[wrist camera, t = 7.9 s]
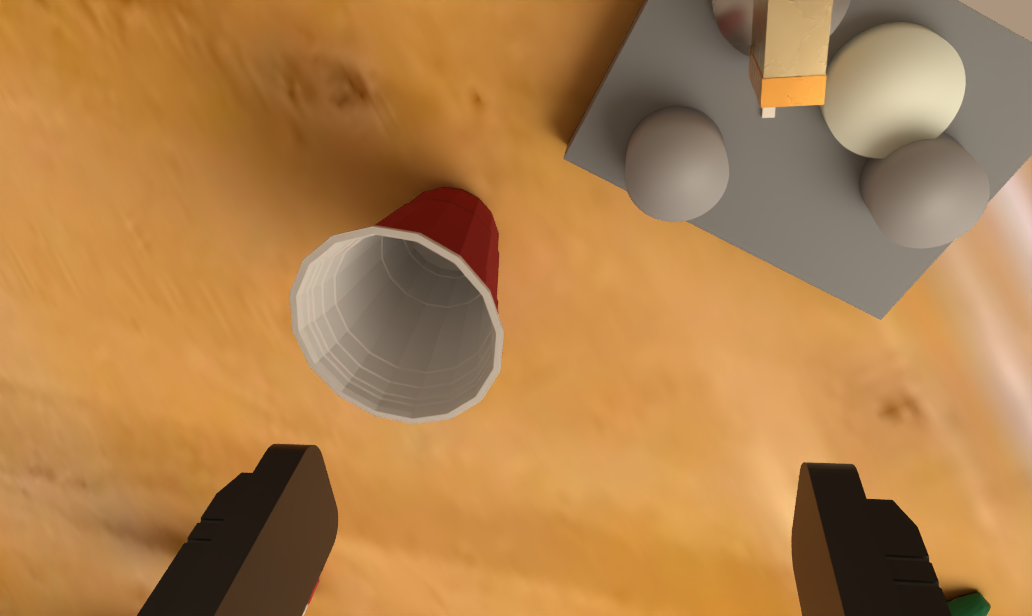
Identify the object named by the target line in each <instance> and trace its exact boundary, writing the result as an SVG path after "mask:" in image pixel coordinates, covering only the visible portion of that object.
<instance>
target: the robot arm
mask: <svg viewBox="0 0 1032 616" xmlns="http://www.w3.org/2000/svg"><path fill="white" fill-rule="evenodd" d="M337 528H338V511H337V506H336V502H335V499H334V495H333V492H332V488H331V485H330V481H329V478H328V474H327V471H326V467H325V464H324V460H323V457H322V453H321V451H320V449H319V448H318V447H317V446H316V445H294V444H273V445H271V446H270V447H269V448H268V449H267V451H266V452H265V454H264V455H263V457H262V459H261V460H260V462H259V463H258V465H257V467H256V468H255V470H254V472H253V473H241V474H240V475H238V476H237V477H236V478H235V479H234V480H232V481H231V482H230V483H229V484H228V485H226V486H225V487H224V488H223V489H222V490H220V491H219V492H218V493H217V494H216V496H215V497H214V499H213V500H212V502H211V503H210V505H209V506H208V508H207V509H206V511H205V512H204V514H203V515H202V517H201V522H200V523H197V525H196V526H195V528H194V529H193V531H192V532H191V534H190V535H189V537H188V542H187V543H184V544H183V546H182V547H181V549H180V551H179V552H178V554H177V555H176V557H175V558H174V560H173V561H172V563H171V564H170V566H169V567H168V569H167V570H166V572H165V573H164V575H163V577H162V578H161V580H160V581H159V583H158V584H157V586H156V587H155V589H154V590H153V592H152V593H151V595H150V596H149V598H148V599H147V601H146V603H145V604H144V606H143V607H142V609H141V610H140V612H139V613H138V615H137V616H302V615H303V613H304V610H305V608H306V606H307V604H308V601H309V599H310V597H311V594H312V592H313V590H314V588H315V585H316V583H317V581H318V579H319V576H320V574H321V572H322V570H323V567H324V565H325V563H326V561H327V558H328V556H329V554H330V552H331V549H332V547H333V545H334V542H335V539H336V534H337ZM792 562H793V570H794V575H795V580H796V585H797V591H798V596H799V601H800V606H801V611H802V616H952V615H951V612H950V610H949V607H948V604H947V602H946V599H945V597H944V594H943V592H942V589H941V588H939V581H938V579H937V576H936V573H935V571H934V568H933V566H932V563H930V562H929V555H928V553H927V550H926V548H925V545H924V542H923V540H922V537H921V535H920V532H919V530H918V527H917V526H916V525H915V524H914V523H913V521H912V520H911V519H910V518H909V517H908V516H907V515H906V514H905V513H904V512H903V511H902V510H901V509H900V507H899V506H898V505H897V504H896V503H895V502H894V501H893V500H881V499H866V496H865V493H864V490H863V487H862V484H861V480H860V477H859V474H858V472H857V469H856V467H855V466H854V465H853V464H835V463H802V465H801V469H800V475H799V482H798V490H797V497H796V505H795V512H794V520H793V527H792Z"/></svg>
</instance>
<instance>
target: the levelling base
mask: <svg viewBox="0 0 1032 616" xmlns="http://www.w3.org/2000/svg"><path fill="white" fill-rule="evenodd" d="M748 72H749V56H747V55H744V54H743V53H741V52H739V51H738V50H736V49H735V48H734V47H733V46H732V45H730V43H729V42H728V41H727V40H726V39H725V38H724V36H723V35H722V33H721V32H720V29H719V27H718V25H717V23H716V19H715V16H714V13H713V9H712V2H711V0H645V1H644V3H643V4H642V6H641V8H640V10H639V12H638V14H637V16H636V18H635V19H634V21H633V23H632V25H631V27H630V29H629V31H628V33H627V34H626V36H625V38H624V40H623V42H622V44H621V46H620V48H619V49H618V51H617V53H616V55H615V57H614V59H613V61H612V63H611V64H610V66H609V68H608V70H607V72H606V74H605V76H604V78H603V80H602V81H601V83H600V85H599V87H598V89H597V91H596V93H595V95H594V96H593V98H592V100H591V102H590V104H589V106H588V108H587V110H586V111H585V113H584V115H583V117H582V119H581V121H580V123H579V125H578V126H577V128H576V130H575V132H574V134H573V136H572V138H571V140H570V141H569V143H568V145H567V148H566V152H565V155H564V159H565V160H567V161H569V162H571V163H573V164H575V165H577V166H579V167H581V168H583V169H585V170H587V171H589V172H591V173H593V174H595V175H597V176H599V177H600V178H602V179H604V180H606V181H608V182H610V183H612V184H614V185H616V186H618V187H620V188H622V189H624V190H626V191H627V192H628V194H629V196H630V198H631V200H632V201H633V202H634V204H635V205H636V206H637V207H638V208H639V209H640V210H641V211H643V212H644V213H645V214H647V215H649V216H650V217H653V218H655V219H658V220H662V221H667V222H682V221H687V222H689V223H691V224H693V225H695V226H697V227H699V228H701V229H703V230H705V231H707V232H709V233H711V234H713V235H715V236H717V237H719V238H721V239H722V240H724V241H726V242H728V243H730V244H732V245H734V246H736V247H738V248H740V249H742V250H744V251H746V252H748V253H750V254H752V255H754V256H756V257H758V258H760V259H762V260H764V261H766V262H768V263H770V264H772V265H774V266H776V267H778V268H780V269H782V270H784V271H785V272H787V273H789V274H791V275H793V276H795V277H797V278H799V279H801V280H803V281H805V282H807V283H809V284H811V285H813V286H815V287H817V288H819V289H821V290H823V291H825V292H827V293H829V294H831V295H833V296H835V297H837V298H839V299H841V300H843V301H845V302H846V303H848V304H850V305H852V306H854V307H856V308H858V309H860V310H862V311H864V312H866V313H868V314H870V315H872V316H874V317H876V318H878V319H880V320H881V319H882V318H883V317H884V316H885V315H886V314H887V313H888V312H889V310H890V309H891V308H892V307H893V306H894V305H895V304H896V303H897V302H898V301H899V300H900V298H901V297H902V296H903V295H904V294H905V293H906V292H907V291H908V290H909V289H910V288H911V286H912V285H913V284H914V283H915V282H916V281H917V280H918V279H919V278H920V277H921V275H922V274H923V273H924V272H925V271H926V270H927V269H928V268H929V267H930V266H931V265H932V263H933V262H934V261H935V260H936V259H937V258H938V257H939V256H940V255H941V254H942V253H943V251H944V250H945V249H946V248H947V247H948V246H949V245H950V244H951V243H952V242H953V241H954V240H955V239H957V238H959V237H961V236H962V235H964V234H965V233H966V232H968V231H969V230H970V229H971V228H972V227H973V226H974V225H975V224H976V223H977V222H978V220H979V219H980V218H981V216H982V215H983V213H984V211H985V209H986V207H987V204H988V202H989V201H990V200H991V199H992V198H993V197H994V196H995V195H996V193H997V192H998V191H999V190H1000V189H1001V188H1002V187H1003V186H1004V185H1005V184H1006V183H1007V181H1008V180H1009V179H1010V178H1011V177H1012V176H1013V175H1014V174H1015V173H1016V172H1017V171H1018V169H1019V168H1020V167H1021V166H1022V165H1023V164H1024V163H1025V162H1026V161H1027V160H1028V158H1029V157H1030V156H1031V155H1032V42H1030V41H1028V40H1027V39H1024V38H1023V37H1021V36H1019V35H1018V34H1016V33H1014V32H1012V31H1011V30H1009V29H1007V28H1005V27H1004V26H1002V25H1000V24H998V23H996V22H995V21H993V20H991V19H989V18H988V17H986V16H984V15H982V14H981V13H979V12H977V11H975V10H973V9H972V8H970V7H968V6H966V5H965V4H963V3H961V2H959V1H958V0H851V1H850V4H849V7H848V9H847V11H846V14H845V16H844V17H843V19H842V21H841V22H840V24H839V25H838V27H837V28H836V29H835V31H834V32H833V33H832V34H831V35H830V36H829V45H828V55H827V65H826V75H827V80H826V89H825V99H824V105H808V106H788V107H769V108H760V105H759V102H758V100H757V97H756V95H755V92H754V89H753V87H752V84H751V81H750V79H749V76H748Z"/></svg>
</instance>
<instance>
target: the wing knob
mask: <svg viewBox="0 0 1032 616" xmlns="http://www.w3.org/2000/svg"><path fill="white" fill-rule="evenodd" d="M850 1H851V0H711V2H712V9H713V13H714V16H715V19H716V23H717V25H718V27H719V29H720V32H721V33H722V35H723V36H724V38H725V39H726V40H727V41H728V42H729V43H730V45H732V46H733V47H734V48H735V49H736V50H738V51H739V52H741V53H743V54H744V55H747V56H749V72H748V76H749V79H750V81H751V84H752V87H753V89H754V92H755V95H756V97H757V100H758V102H759V105H760V108H769V107H788V106H808V105H824V99H825V89H826V80H827V75H826V65H827V55H828V45H829V36H830V35H831V34H832V33H833V32H834V31H835V29H836V28H837V27H838V25H839V24H840V22H841V21H842V19H843V17H844V16H845V14H846V11H847V9H848V7H849V4H850Z"/></svg>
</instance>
